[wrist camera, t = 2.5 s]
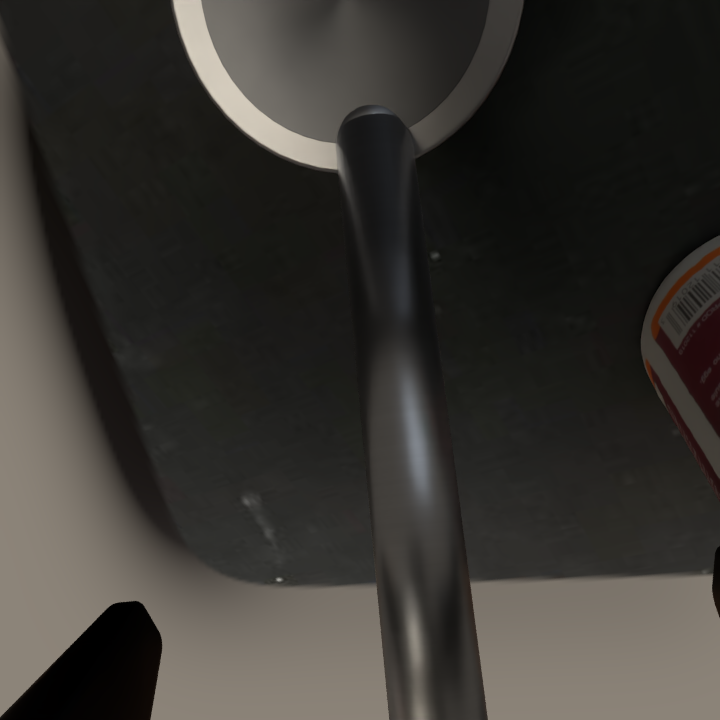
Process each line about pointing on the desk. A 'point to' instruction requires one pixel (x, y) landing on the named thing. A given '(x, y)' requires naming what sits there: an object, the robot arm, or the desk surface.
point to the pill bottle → (689, 353)
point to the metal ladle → (379, 268)
